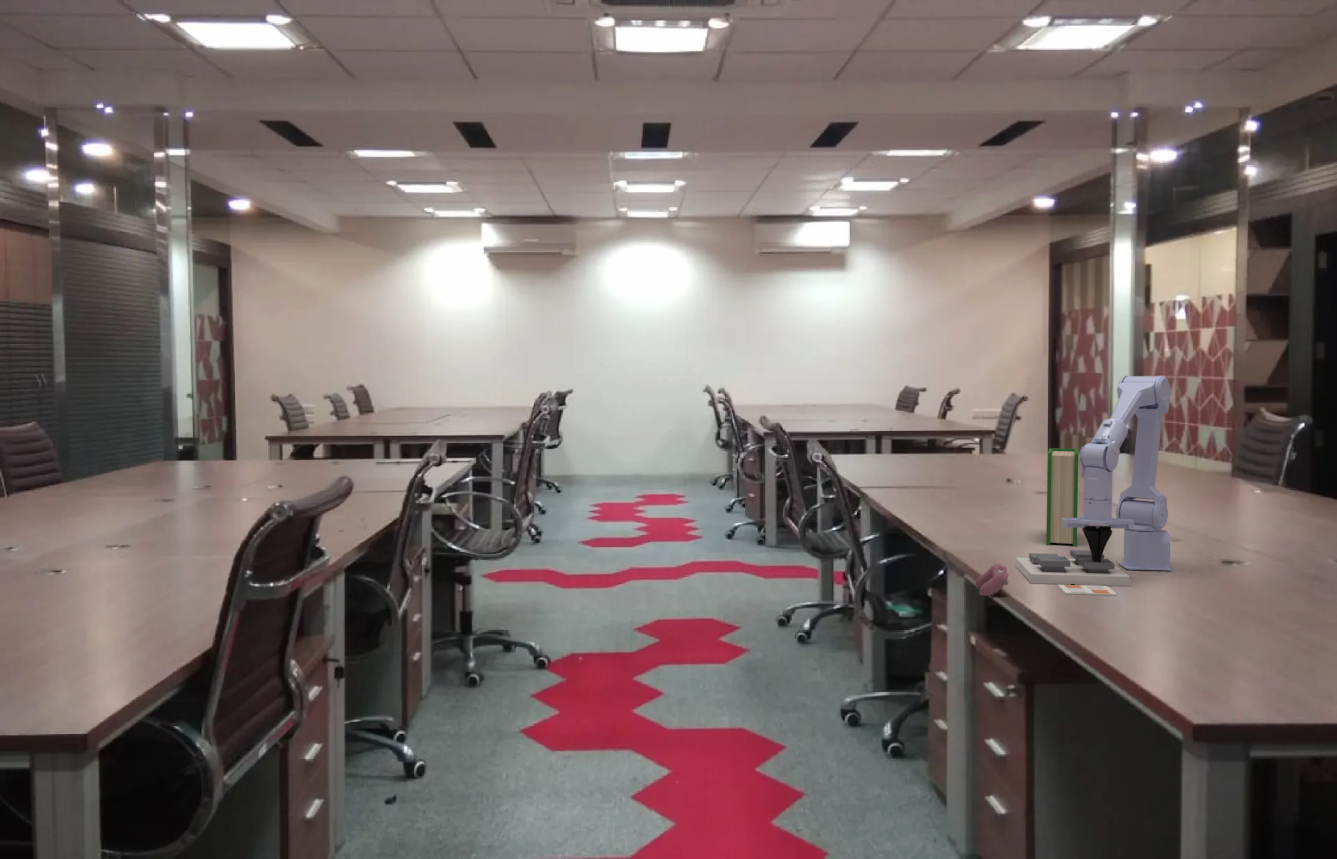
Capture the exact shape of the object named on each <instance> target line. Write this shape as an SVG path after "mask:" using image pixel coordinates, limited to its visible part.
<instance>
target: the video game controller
mask: <svg viewBox="0 0 1337 859" xmlns="http://www.w3.org/2000/svg"><path fill="white" fill-rule="evenodd" d="M1008 578H1009V573H1008V569H1007V567H1006V566H1005V565H1003V564H1000V563H997V564H996V563H994V564H993V565H992V566H990V568H989V569H988V570H987V571H985V572H984V573H982V574H981V575H980V576H979V577H977V578H976V580H975V583H974V584H975V587H976V588H978V589H979V590H978V593H979V595H980V596H981V597H989V596H991V595H997V594H998V593H999V592H1000V590H1002V589H1003V588H1004V586H1008V585H1009V583H1010V582H1009V580H1008Z"/></svg>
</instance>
